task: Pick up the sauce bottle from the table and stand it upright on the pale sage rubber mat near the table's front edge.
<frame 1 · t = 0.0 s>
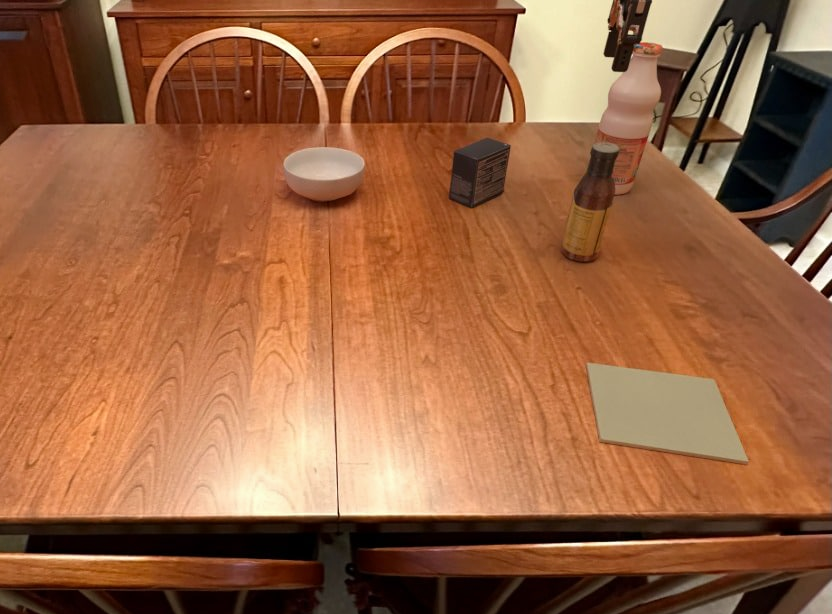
hand: (614, 63, 94), 30 cm above the table, tool pointing down, fingers open, 8 cm apart
mat: (659, 410, 76), on the table
sauce bottle: (577, 255, 106), on the table
fruit juice: (606, 186, 128), on the table
cereal bowl: (324, 194, 127), on the table
small box: (475, 196, 125), on the table
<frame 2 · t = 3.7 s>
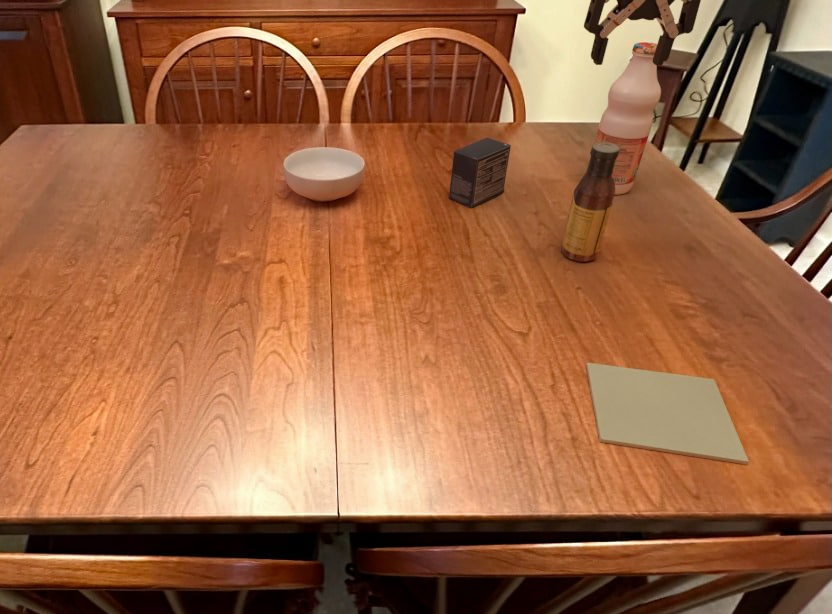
hand: (627, 63, 89), 31 cm above the table, tool pointing down, fingers open, 8 cm apart
nothing on the table moved.
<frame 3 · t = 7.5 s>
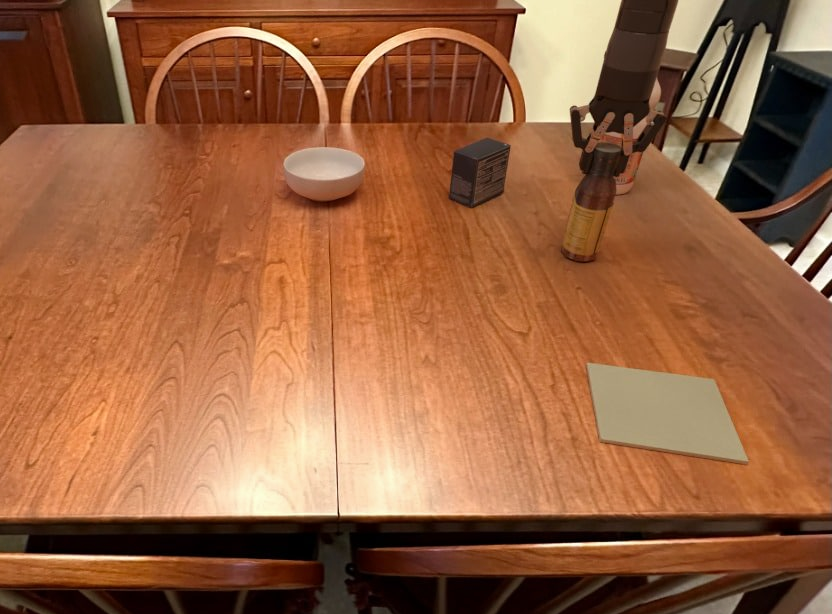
hand: (600, 173, 97), 15 cm above the table, tool pointing down, fingers closed on sauce bottle, 4 cm apart
sauce bottle: (577, 255, 106), on the table, touching gripper
everything else where it was.
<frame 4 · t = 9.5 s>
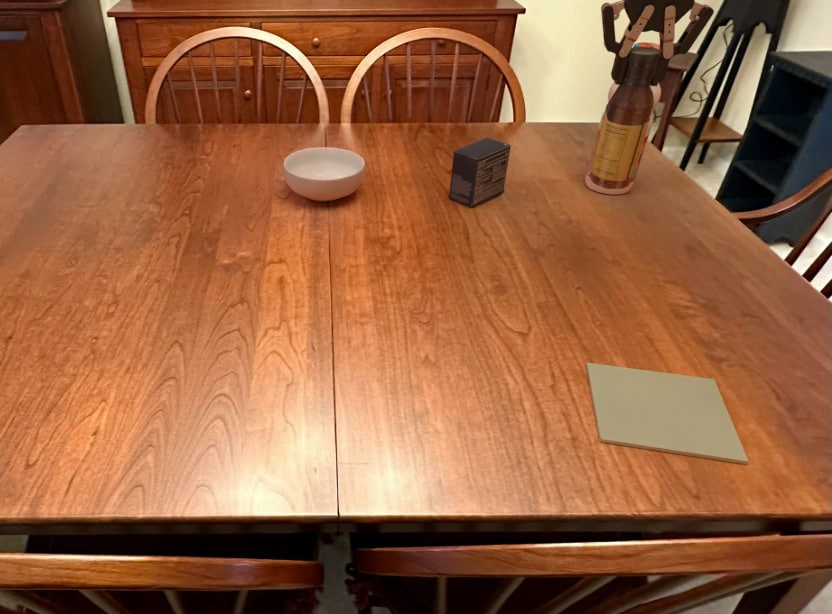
hand: (635, 83, 86), 30 cm above the table, tool pointing down, fingers closed on sauce bottle, 4 cm apart
sauce bottle: (607, 184, 95), point 15 cm above the table, touching gripper
everything else where it was.
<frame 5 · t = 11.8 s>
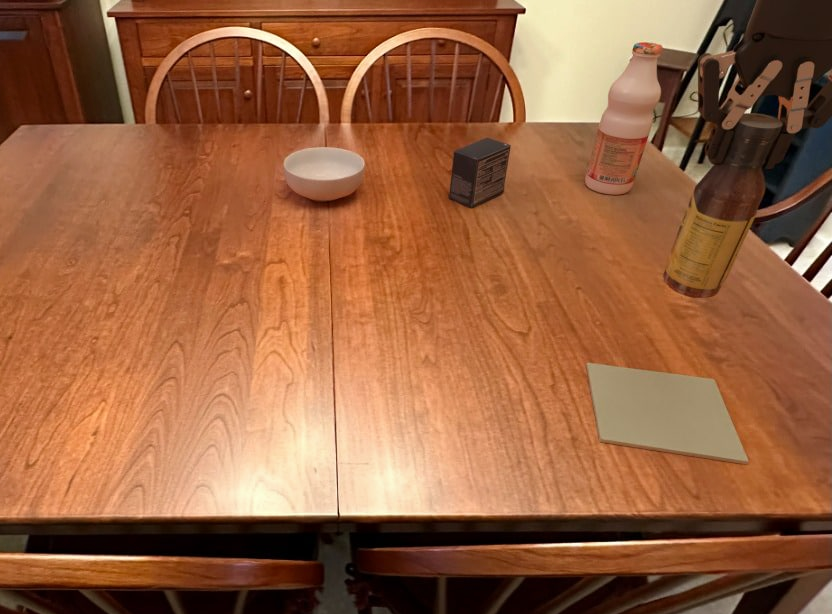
hand: (739, 162, 62), 31 cm above the table, tool pointing down, fingers closed on sauce bottle, 4 cm apart
sauce bottle: (687, 287, 71), point 16 cm above the table, touching gripper
everything else where it was.
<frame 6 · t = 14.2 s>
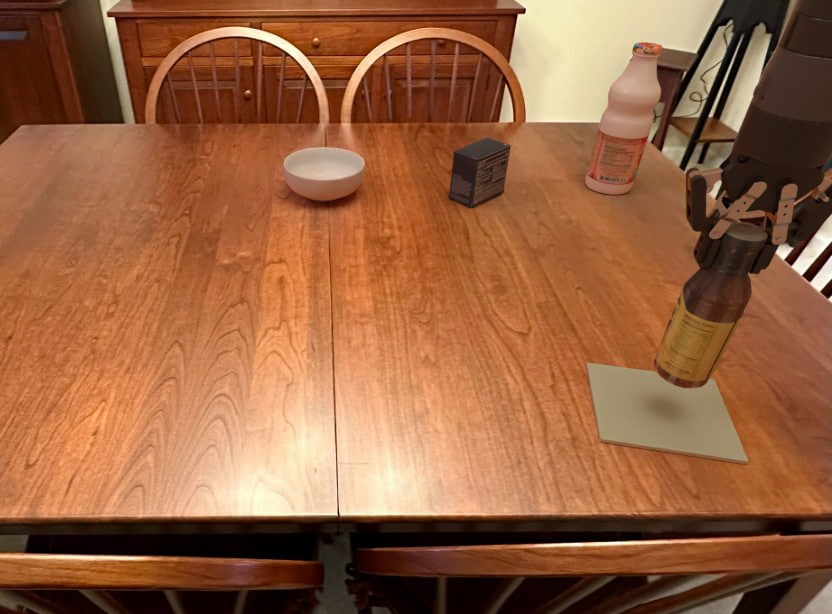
hand: (726, 266, 63), 22 cm above the table, tool pointing down, fingers closed on sauce bottle, 4 cm apart
sauce bottle: (677, 375, 73), point 6 cm above the table, touching gripper
everything else where it was.
when the fingers open (16 cm above the table, at t = 16.1 s): sauce bottle stays where it is, resting on mat.
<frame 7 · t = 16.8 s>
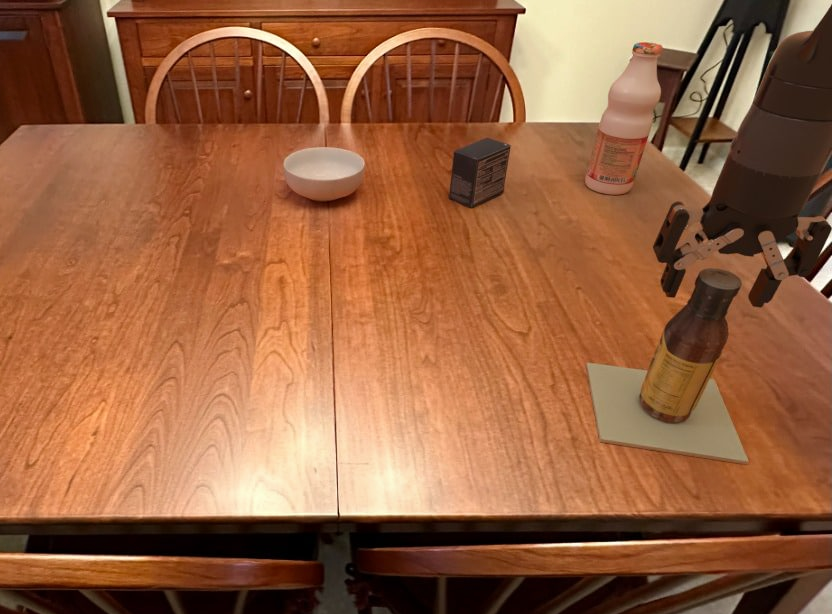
hand: (711, 298, 66), 18 cm above the table, tool pointing down, fingers open, 8 cm apart
sauce bottle: (661, 408, 76), resting on mat
everything else where it was.
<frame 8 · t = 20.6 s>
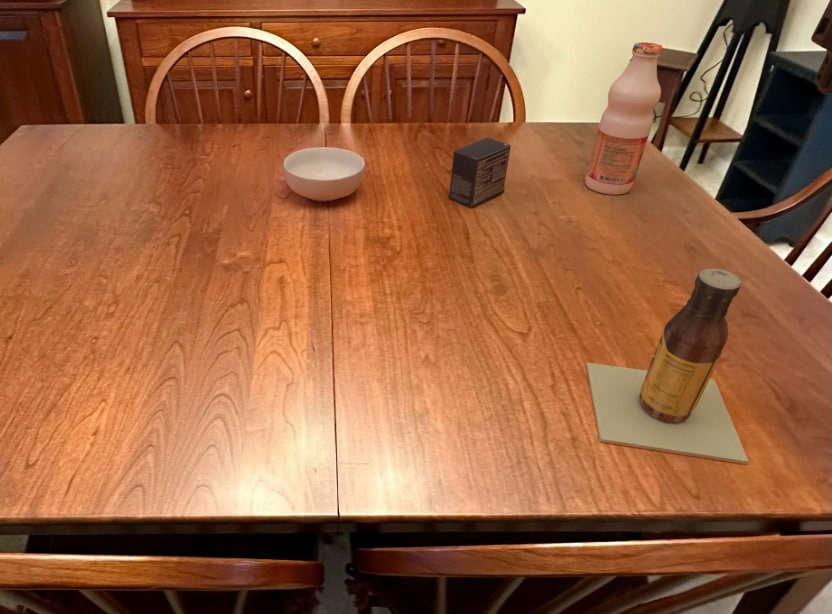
nothing on the table moved.
at the end: sauce bottle inside the target area on the mat (0.2 cm from its centre), point 0.4 cm above the mat's base; sauce bottle tilted 0°; the gripper is holding nothing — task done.
